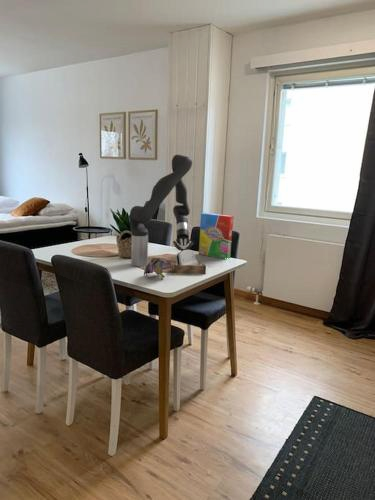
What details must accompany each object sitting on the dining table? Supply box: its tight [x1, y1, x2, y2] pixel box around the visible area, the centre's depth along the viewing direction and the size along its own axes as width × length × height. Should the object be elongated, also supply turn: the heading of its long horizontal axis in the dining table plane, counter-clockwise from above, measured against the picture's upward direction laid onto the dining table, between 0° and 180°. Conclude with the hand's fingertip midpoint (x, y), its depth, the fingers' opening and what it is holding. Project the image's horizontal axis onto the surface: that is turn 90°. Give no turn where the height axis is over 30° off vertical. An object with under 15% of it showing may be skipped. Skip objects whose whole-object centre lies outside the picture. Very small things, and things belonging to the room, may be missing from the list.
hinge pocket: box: [172, 261, 207, 275], centre depth 201 cm, size 17×7×4 cm, turn 96°
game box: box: [198, 212, 234, 260], centre depth 238 cm, size 21×6×27 cm, turn 60°
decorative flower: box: [143, 257, 173, 280], centre depth 187 cm, size 15×12×15 cm
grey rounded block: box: [174, 249, 200, 265], centre depth 214 cm, size 17×5×10 cm, turn 149°
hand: (183, 255), depth 220 cm, fingers closed
